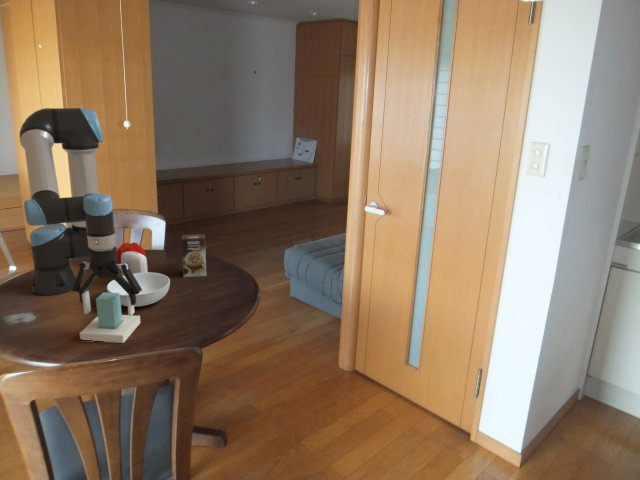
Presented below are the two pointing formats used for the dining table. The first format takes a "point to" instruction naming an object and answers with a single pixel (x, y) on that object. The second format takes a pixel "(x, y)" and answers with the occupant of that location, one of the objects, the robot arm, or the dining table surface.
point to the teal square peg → (109, 310)
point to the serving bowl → (143, 288)
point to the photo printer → (134, 262)
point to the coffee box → (194, 255)
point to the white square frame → (111, 330)
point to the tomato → (129, 247)
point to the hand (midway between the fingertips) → (109, 313)
